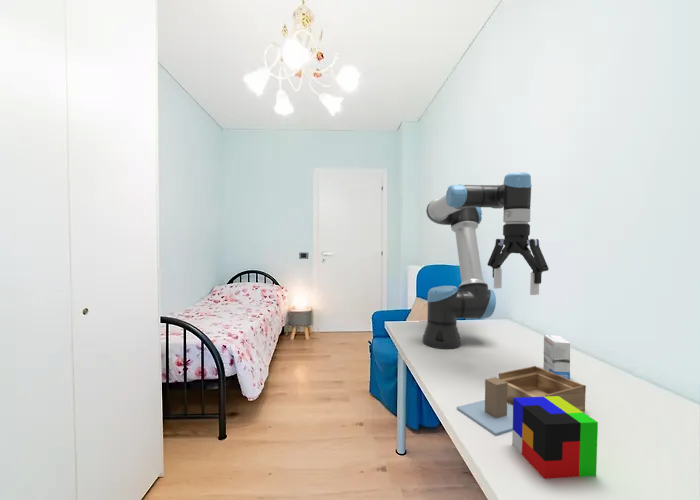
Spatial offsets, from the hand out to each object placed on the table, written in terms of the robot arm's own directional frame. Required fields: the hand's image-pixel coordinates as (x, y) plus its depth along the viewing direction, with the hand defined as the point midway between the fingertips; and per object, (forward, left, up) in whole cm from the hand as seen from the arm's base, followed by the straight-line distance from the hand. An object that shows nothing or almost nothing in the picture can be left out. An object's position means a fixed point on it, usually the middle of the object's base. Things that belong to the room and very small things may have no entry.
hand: (514, 291), depth 104 cm
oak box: (+16, -9, -27) cm, 32 cm away
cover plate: (+16, -24, -27) cm, 40 cm away
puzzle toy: (+32, -27, -27) cm, 50 cm away
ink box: (+5, +13, -27) cm, 30 cm away
